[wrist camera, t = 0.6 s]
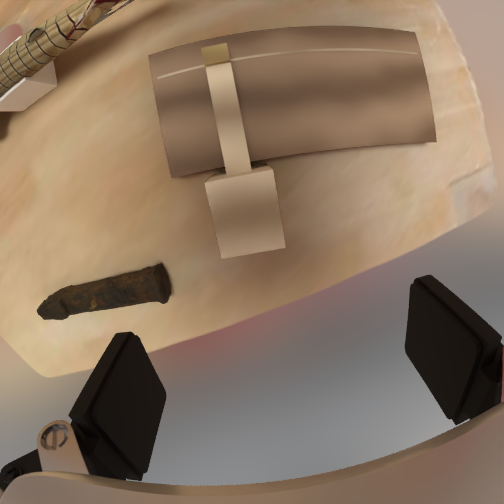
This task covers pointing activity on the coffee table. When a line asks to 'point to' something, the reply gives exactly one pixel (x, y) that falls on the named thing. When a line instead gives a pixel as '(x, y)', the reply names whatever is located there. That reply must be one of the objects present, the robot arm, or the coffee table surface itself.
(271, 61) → the board
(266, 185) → the beige block with stick
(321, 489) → the robot arm
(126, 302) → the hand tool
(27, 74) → the wood carving
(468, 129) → the coffee table surface
